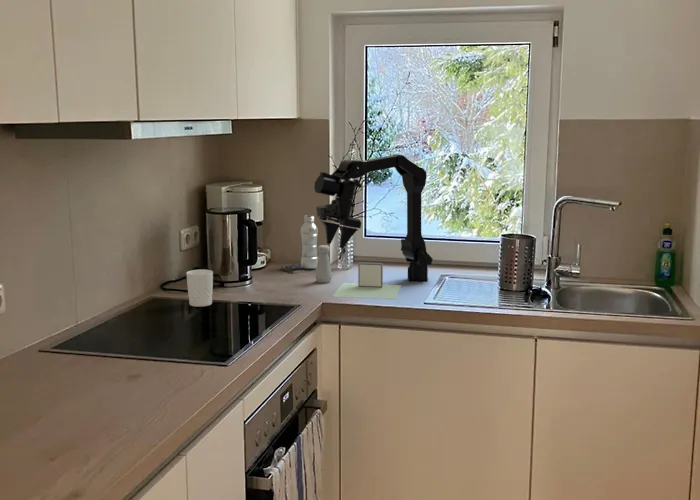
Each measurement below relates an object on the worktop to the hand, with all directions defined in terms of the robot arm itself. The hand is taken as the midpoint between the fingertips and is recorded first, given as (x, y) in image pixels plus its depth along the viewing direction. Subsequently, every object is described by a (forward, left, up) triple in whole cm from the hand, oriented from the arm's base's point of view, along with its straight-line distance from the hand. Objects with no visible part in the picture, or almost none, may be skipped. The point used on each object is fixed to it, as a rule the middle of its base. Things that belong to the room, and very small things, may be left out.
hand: (334, 245), depth 244 cm
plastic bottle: (+16, -35, -15) cm, 42 cm away
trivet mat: (-11, -1, -15) cm, 19 cm away
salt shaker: (+6, -12, -15) cm, 21 cm away
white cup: (+37, +24, -15) cm, 47 cm away
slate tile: (-11, -7, -15) cm, 20 cm away
